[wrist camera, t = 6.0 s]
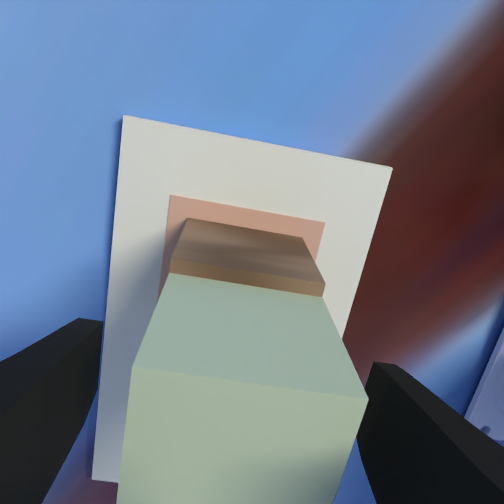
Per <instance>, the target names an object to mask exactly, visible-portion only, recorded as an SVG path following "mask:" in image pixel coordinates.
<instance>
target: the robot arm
mask: <svg viewBox="0 0 504 504" xmlns="http://www.w3.org/2000/svg"><path fill="white" fill-rule="evenodd" d="M102 331H103V322H102V321H96V320H89V319H82V318H78V319H76V320H74V321H72V322H70V323H69V324H67V325H65V326H64V327H62V328H60V329H58V330H57V331H55V332H53V333H52V334H50V335H48V336H46V337H45V338H43V339H41V340H39V341H38V342H36V343H34V344H32V345H31V346H29V347H27V348H25V349H24V350H22V351H20V352H18V353H16V354H14V355H12V356H11V357H9V358H7V359H5V360H3V361H1V362H0V504H42V502H43V500H44V498H45V496H46V495H47V493H48V491H49V489H50V487H51V485H52V483H53V482H54V480H55V478H56V476H57V474H58V472H59V470H60V468H61V467H62V465H63V463H64V461H65V459H66V457H67V455H68V454H69V452H70V450H71V448H72V446H73V444H74V442H75V440H76V438H77V436H78V435H79V433H80V431H81V429H82V427H83V425H84V423H85V420H86V418H87V415H88V412H89V410H90V407H91V405H92V402H93V399H94V397H95V394H96V391H97V389H98V377H99V366H100V354H101V342H102ZM364 390H365V392H366V394H367V397H368V399H369V400H368V403H367V406H366V409H365V412H364V415H363V418H362V421H361V423H360V426H359V429H358V432H357V435H356V438H357V443H358V447H359V452H360V456H361V460H362V463H363V466H364V469H365V472H366V474H367V477H368V480H369V483H370V486H371V489H372V492H373V494H374V497H375V500H376V503H377V504H504V447H503V446H501V445H500V444H498V443H497V442H496V441H494V440H500V441H504V328H503V330H502V332H501V335H500V337H499V339H498V342H497V344H496V346H495V348H494V351H493V353H492V355H491V357H490V360H489V362H488V364H487V367H486V369H485V371H484V373H483V376H482V378H481V380H480V383H479V385H478V387H477V389H476V392H475V394H474V396H473V398H472V401H471V403H470V405H469V408H468V410H467V412H466V414H465V417H462V416H461V415H460V414H458V413H457V412H456V411H455V410H453V409H452V408H451V407H450V406H448V405H447V404H446V403H445V402H443V401H442V400H441V399H440V398H438V397H437V396H436V395H435V394H433V393H432V392H431V391H430V390H429V389H427V388H426V387H425V386H424V385H422V384H421V383H420V382H419V381H417V380H416V379H415V378H413V377H412V376H411V375H410V374H408V373H407V372H405V371H404V370H403V369H401V368H400V367H398V366H397V365H395V364H388V363H381V362H373V365H372V368H371V371H370V374H369V377H368V380H367V383H366V386H365V389H364ZM484 426H485V427H484ZM482 427H484V428H482ZM481 428H482V429H481Z"/></svg>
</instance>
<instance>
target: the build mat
mask: <svg viewBox="0 0 504 504" xmlns="http://www.w3.org/2000/svg"><path fill="white" fill-rule="evenodd" d="M392 169H393V168H391V167H389V166H384V165H378V164H373V163H368V162H363V161H358V160H353V159H348V158H343V157H338V156H333V155H327V154H322V153H317V152H312V151H307V150H302V149H297V148H292V147H287V146H282V145H276V144H271V143H266V142H261V141H256V140H251V139H246V138H241V137H236V136H231V135H225V134H220V133H215V132H210V131H205V130H200V129H195V128H190V127H185V126H180V125H174V124H169V123H164V122H159V121H154V120H149V119H144V118H139V117H134V116H129V115H123V124H122V136H121V147H120V158H119V170H118V181H117V193H116V204H115V216H114V227H113V239H112V250H111V262H110V273H109V285H108V296H107V308H106V319H105V331H104V342H103V354H102V365H101V377H100V388H99V400H98V411H97V423H96V434H95V445H94V457H93V468H92V480H100V481H109V482H118V483H119V476H120V467H121V459H122V450H123V442H124V433H125V424H126V416H127V407H128V399H129V390H130V382H131V373H132V366H133V363H134V361H135V358H136V356H137V353H138V351H139V348H140V346H141V343H142V341H143V338H144V336H145V333H146V330H147V328H148V325H149V323H150V320H151V318H152V315H153V313H154V310H155V308H156V305H157V303H158V300H159V298H160V295H161V292H162V290H163V287H164V285H165V282H166V280H167V277H168V275H169V268H170V261H171V257H172V254H173V252H174V250H175V247H176V245H177V243H178V240H179V238H180V235H181V233H182V231H183V228H184V226H185V224H186V221H187V219H188V218H194V219H200V220H205V221H211V222H217V223H222V224H228V225H234V226H240V227H245V228H251V229H257V230H263V231H268V232H274V233H280V234H285V235H291V236H297V237H302V238H303V240H304V242H305V244H306V246H307V248H308V250H309V252H310V254H311V256H312V258H313V260H314V261H315V263H316V265H317V267H318V269H319V271H320V273H321V275H322V277H323V279H324V281H325V283H326V285H325V289H324V292H323V296H322V297H323V300H324V302H325V304H326V306H327V308H328V311H329V313H330V315H331V317H332V319H333V322H334V324H335V326H336V328H337V331H338V333H339V335H340V337H341V339H342V336H343V333H344V330H345V326H346V323H347V320H348V316H349V313H350V310H351V306H352V303H353V300H354V296H355V293H356V290H357V286H358V283H359V279H360V276H361V273H362V269H363V266H364V263H365V259H366V256H367V253H368V249H369V246H370V243H371V239H372V236H373V233H374V229H375V226H376V223H377V219H378V216H379V213H380V209H381V206H382V203H383V199H384V196H385V193H386V189H387V186H388V183H389V179H390V176H391V173H392Z"/></svg>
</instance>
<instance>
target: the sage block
mask: <svg viewBox="0 0 504 504" xmlns="http://www.w3.org/2000/svg"><path fill="white" fill-rule="evenodd" d="M368 400H369V399H368V397H367V394H366V392H365V390H364V388H363V386H362V383H361V381H360V379H359V377H358V375H357V372H356V370H355V368H354V366H353V364H352V361H351V359H350V357H349V355H348V353H347V350H346V348H345V346H344V344H343V342H342V339H341V337H340V335H339V333H338V331H337V328H336V326H335V324H334V322H333V319H332V317H331V315H330V313H329V311H328V308H327V306H326V304H325V302H324V300H323V297H317V296H311V295H304V294H298V293H292V292H286V291H280V290H274V289H267V288H261V287H255V286H249V285H243V284H236V283H230V282H224V281H218V280H212V279H206V278H199V277H193V276H187V275H181V274H175V273H169V275H168V277H167V280H166V282H165V285H164V287H163V290H162V292H161V295H160V298H159V300H158V303H157V305H156V308H155V310H154V313H153V315H152V318H151V320H150V323H149V325H148V328H147V330H146V333H145V336H144V338H143V341H142V343H141V346H140V348H139V351H138V353H137V356H136V358H135V361H134V363H133V366H132V373H131V382H130V390H129V399H128V407H127V416H126V424H125V433H124V442H123V450H122V459H121V467H120V476H119V485H118V493H117V502H116V504H333V502H334V499H335V496H336V493H337V491H338V488H339V485H340V482H341V479H342V476H343V473H344V470H345V467H346V464H347V461H348V458H349V456H350V453H351V450H352V447H353V444H354V441H355V438H356V435H357V432H358V429H359V426H360V423H361V421H362V418H363V415H364V412H365V409H366V406H367V403H368Z"/></svg>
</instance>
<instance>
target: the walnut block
mask: <svg viewBox="0 0 504 504" xmlns="http://www.w3.org/2000/svg"><path fill="white" fill-rule="evenodd" d="M169 273H175V274H181V275H187V276H193V277H199V278H206V279H212V280H218V281H224V282H230V283H236V284H243V285H249V286H255V287H261V288H267V289H274V290H280V291H286V292H292V293H298V294H304V295H311V296H317V297H322V296H323V292H324V289H325V285H326V283H325V281H324V279H323V277H322V275H321V273H320V271H319V269H318V267H317V265H316V263H315V261H314V260H313V258H312V256H311V254H310V252H309V250H308V248H307V246H306V244H305V242H304V240H303V238H302V237H297V236H291V235H285V234H280V233H274V232H268V231H263V230H257V229H251V228H245V227H240V226H234V225H228V224H222V223H217V222H211V221H205V220H200V219H194V218H188V219H187V221H186V224H185V226H184V228H183V231H182V233H181V235H180V238H179V240H178V243H177V245H176V247H175V250H174V252H173V254H172V257H171V261H170V268H169Z"/></svg>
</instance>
